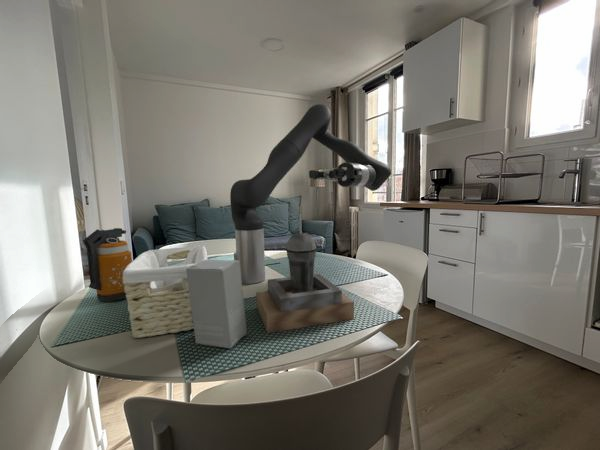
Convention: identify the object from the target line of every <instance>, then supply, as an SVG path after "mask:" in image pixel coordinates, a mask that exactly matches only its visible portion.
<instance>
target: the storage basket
mask: <svg viewBox="0 0 600 450" xmlns="http://www.w3.org/2000/svg"><path fill="white" fill-rule="evenodd" d="M207 251H208V250H207V248H206V247H205V246H204V245H197V246H186V247H185V246H184V247H183V246H182V247H172V248H171V247H170V248H161V249H149V250H147V251H144V252H142V253H140V254H139V255H138V256H137V257H135V259H133V261H132V262H131V263H130V264H129V265H128V266H127V267H126V268H125V270H124V272H123V283H124V285H125V287H124V290H125V293H126V298H125V299H126V300H127V310H128V313H129V321H130V326H131V327H130V328H131V331H132V334H130V336H132V337H133V338H135V339H136V338H139V339H140V338H145V337H154V336H158V335H159V336H162V335H165V334H168V333H170V334H175V333H179V332H182V331H184V332H185V331H191V330H194V325H193V317H192V309H191V301H190V293H189V286H188V278H187V271H186V268H188V267H191V266H193V265H195V264H198V263H200V262H202V261H204V260H209V259H208V253H207ZM181 259H183V261H180V262H178V263H176V264H172V265H169V263H168V262H169V261H168V260H181ZM184 259H185V260H184Z"/></svg>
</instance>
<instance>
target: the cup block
mask: <svg viewBox="0 0 600 450" xmlns="http://www.w3.org/2000/svg"><path fill="white" fill-rule="evenodd" d="M255 293H256V294H255V295H256V296H255V297H256V309H257V312H258V314H259V316H260V318H261V321H262V324H263V325H264V328H265V331H266V333H267V334H271V333H276V332H277V333H278V332H283V331H288V330H294V329H300V328H306V327H313V326H318V325H325V324H329V323H330V324H331V323H337V322H343V321H349V320H354V319H355V301H354V300H352V299H351V298H349V297H348V296H347V295H345V293H343V291H342V289H340V288H339V287H338V286H336V285H335V284H334V283H332V282H331V281H329V280H328V279H327V278H325V277H324V276H323V275H321V274H320V273H315V274H313V289H312V291H310V292H302V293H295V294H293V292H292V286H291V276H289V277H279V278H270V279H267V290H266V291H265V290H264V291H257V292H255Z"/></svg>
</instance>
